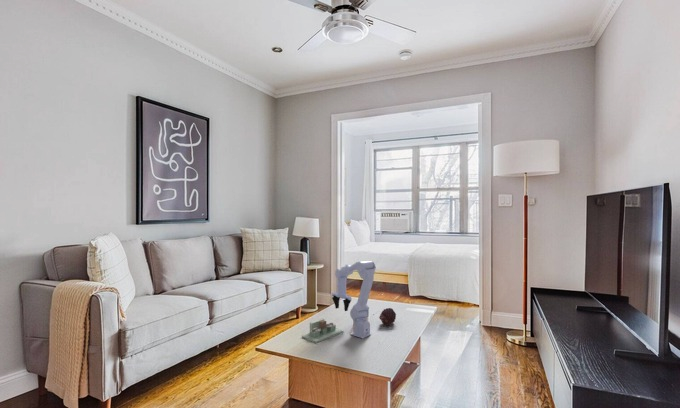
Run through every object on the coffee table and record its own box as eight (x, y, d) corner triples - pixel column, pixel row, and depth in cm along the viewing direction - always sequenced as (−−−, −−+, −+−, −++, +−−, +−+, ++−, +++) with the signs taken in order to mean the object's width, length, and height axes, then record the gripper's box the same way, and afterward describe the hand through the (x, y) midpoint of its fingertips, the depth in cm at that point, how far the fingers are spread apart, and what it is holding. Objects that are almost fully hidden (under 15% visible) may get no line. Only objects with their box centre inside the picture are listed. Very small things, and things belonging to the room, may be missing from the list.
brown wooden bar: (335, 325, 210) (335, 318, 209) (315, 332, 198) (315, 325, 198) (329, 323, 213) (329, 317, 212) (309, 330, 201) (309, 323, 201)
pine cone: (385, 318, 234) (385, 303, 234) (400, 321, 229) (400, 305, 229) (375, 327, 218) (376, 310, 218) (391, 329, 213) (391, 313, 213)
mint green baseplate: (343, 332, 209) (343, 320, 209) (316, 343, 193) (316, 330, 193) (329, 327, 217) (329, 316, 217) (301, 337, 201) (301, 325, 201)
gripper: (328, 287, 223) (328, 308, 223) (346, 290, 213) (346, 313, 213) (336, 285, 228) (336, 306, 228) (353, 288, 218) (353, 310, 218)
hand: (341, 309), depth 221 cm, fingers open, 7 cm apart
